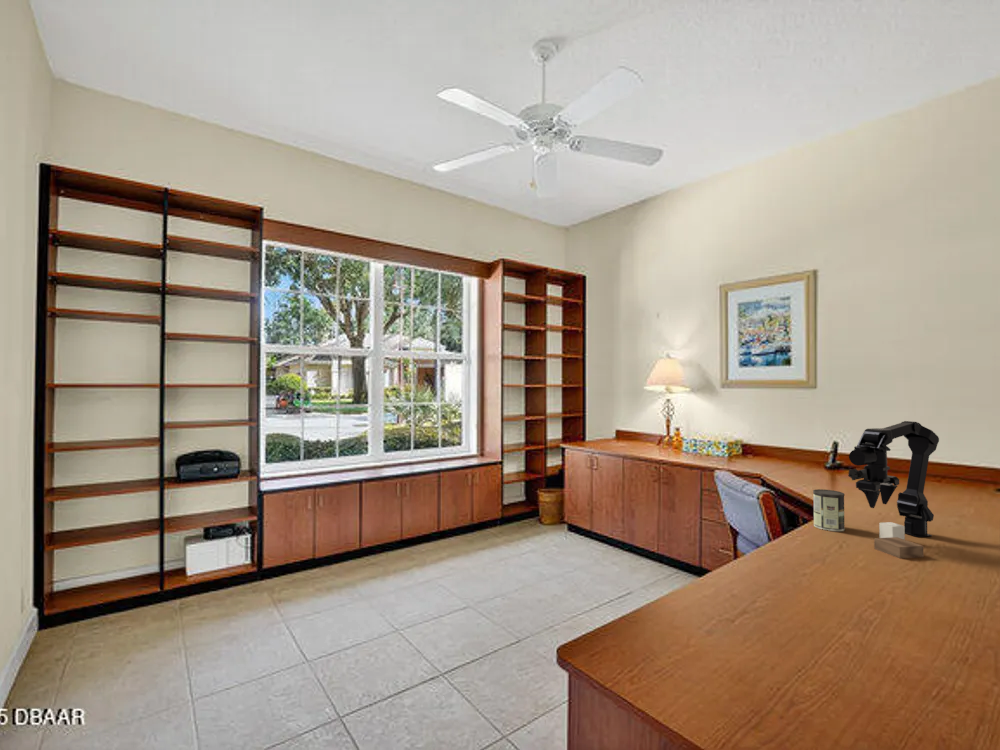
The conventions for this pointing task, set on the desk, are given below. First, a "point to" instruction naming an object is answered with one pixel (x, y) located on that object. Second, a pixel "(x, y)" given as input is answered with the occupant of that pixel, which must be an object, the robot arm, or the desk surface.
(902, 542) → the walnut block
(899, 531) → the cream block
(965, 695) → the desk surface
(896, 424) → the robot arm
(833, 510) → the coffee can
